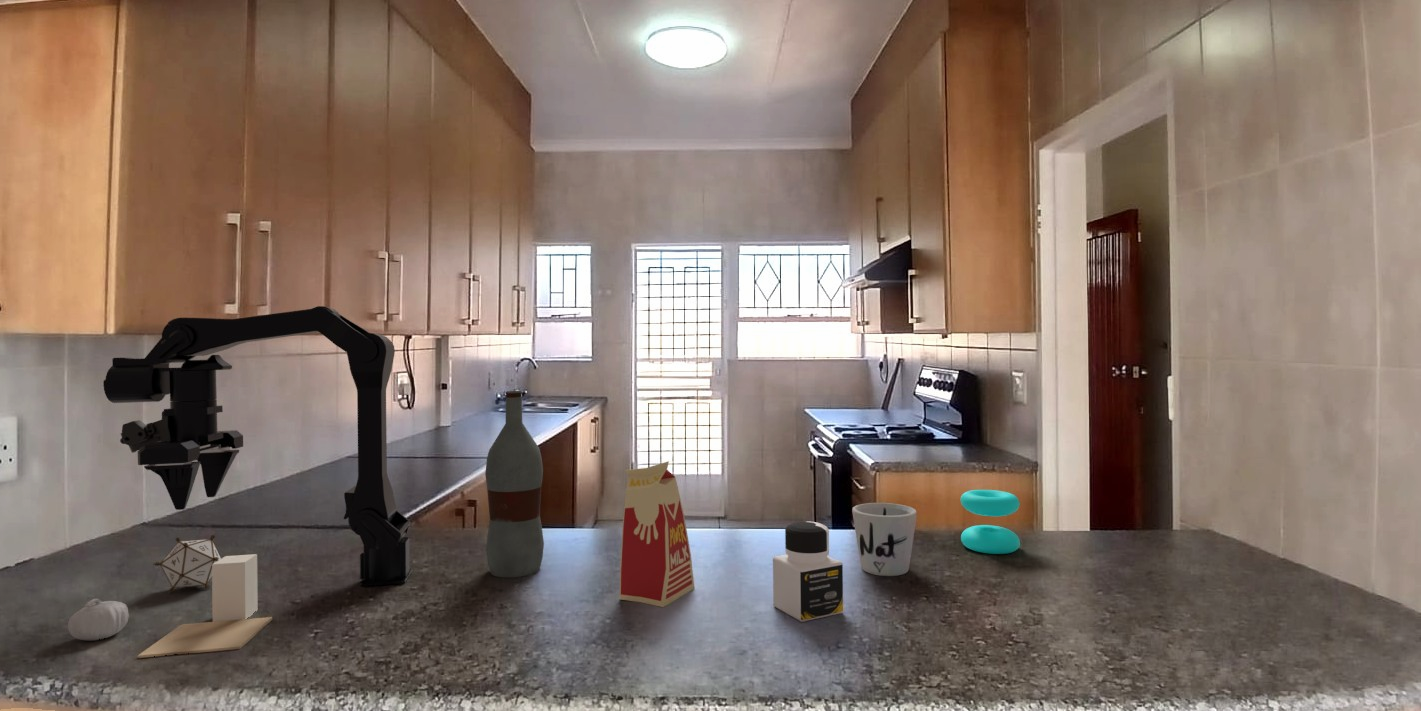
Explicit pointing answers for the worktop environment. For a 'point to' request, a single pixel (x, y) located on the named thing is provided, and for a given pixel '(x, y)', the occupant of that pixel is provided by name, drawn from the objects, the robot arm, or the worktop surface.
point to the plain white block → (234, 587)
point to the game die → (190, 563)
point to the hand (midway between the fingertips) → (196, 503)
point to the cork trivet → (207, 637)
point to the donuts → (988, 535)
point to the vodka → (514, 497)
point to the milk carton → (654, 539)
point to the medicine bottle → (807, 574)
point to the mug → (884, 537)
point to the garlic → (98, 620)
